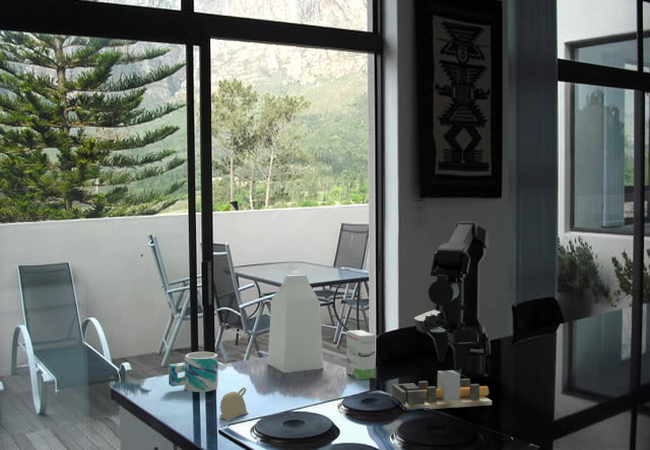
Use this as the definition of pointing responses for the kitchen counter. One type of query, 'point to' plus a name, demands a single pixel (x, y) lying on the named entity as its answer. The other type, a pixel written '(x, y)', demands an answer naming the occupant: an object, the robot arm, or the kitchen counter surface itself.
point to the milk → (295, 327)
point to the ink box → (360, 354)
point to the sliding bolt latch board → (418, 398)
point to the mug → (196, 372)
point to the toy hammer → (448, 387)
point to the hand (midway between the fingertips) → (449, 365)
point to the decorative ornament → (233, 405)
